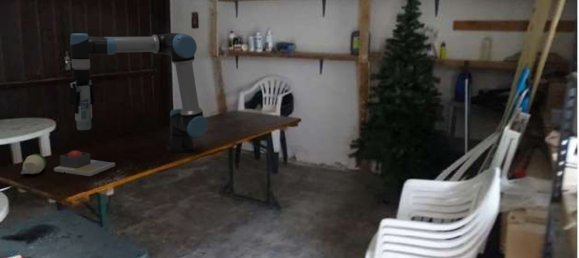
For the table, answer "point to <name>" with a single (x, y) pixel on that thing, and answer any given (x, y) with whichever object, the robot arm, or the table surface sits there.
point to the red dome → (75, 154)
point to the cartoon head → (33, 164)
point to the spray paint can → (84, 108)
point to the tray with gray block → (82, 165)
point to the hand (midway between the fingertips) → (83, 119)
